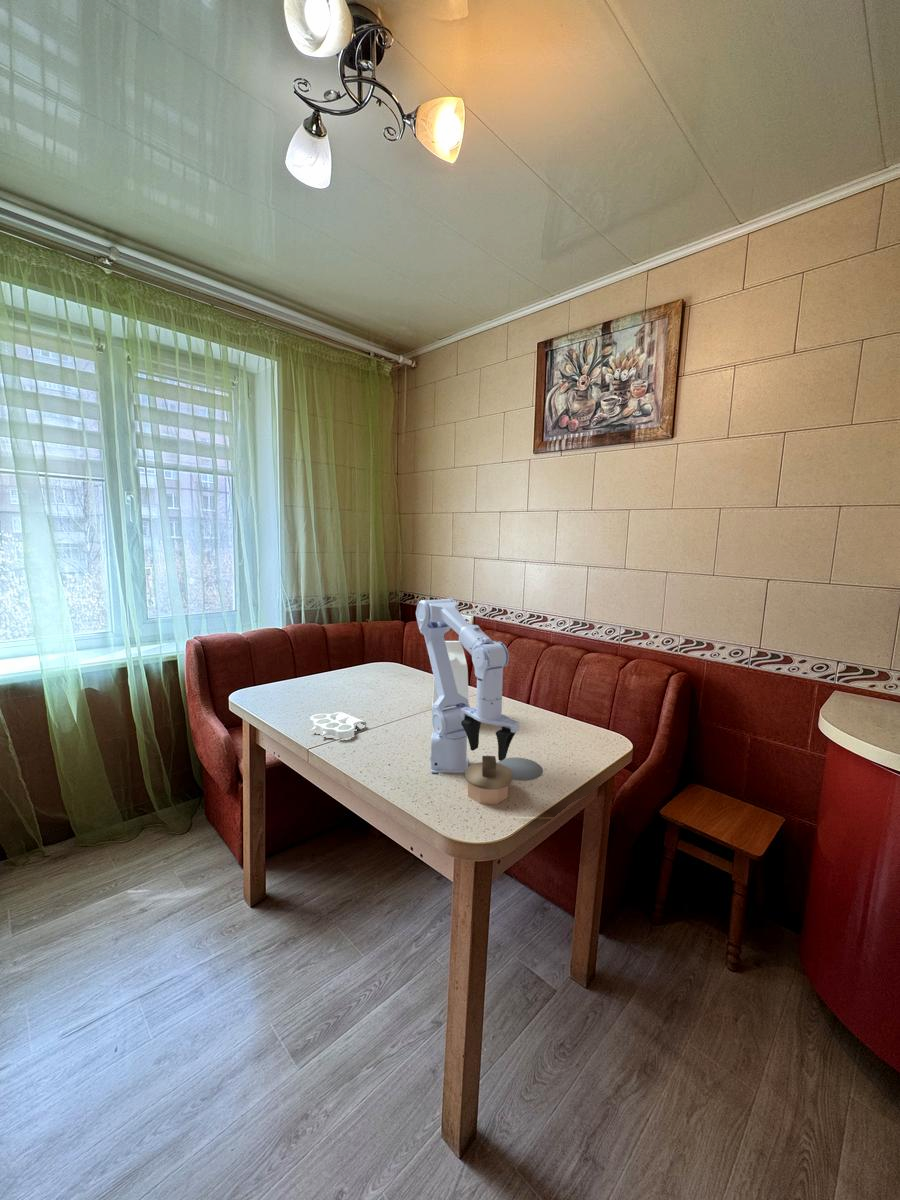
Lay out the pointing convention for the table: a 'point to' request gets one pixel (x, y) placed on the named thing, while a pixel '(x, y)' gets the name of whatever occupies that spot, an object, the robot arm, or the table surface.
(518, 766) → the mat
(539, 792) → the table surface
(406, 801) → the table surface
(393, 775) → the table surface
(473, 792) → the bowl
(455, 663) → the milk
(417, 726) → the table surface
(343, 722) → the white holed plate
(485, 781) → the lid
